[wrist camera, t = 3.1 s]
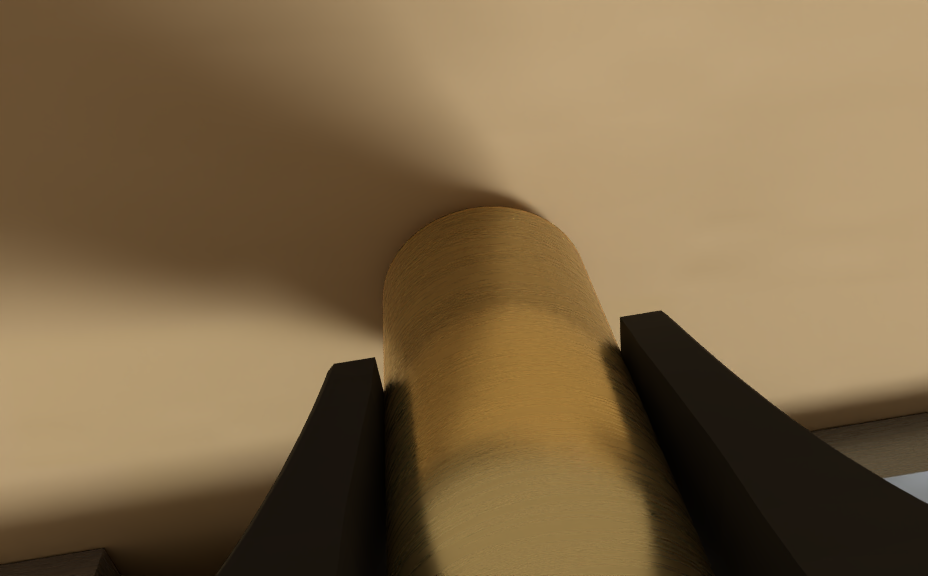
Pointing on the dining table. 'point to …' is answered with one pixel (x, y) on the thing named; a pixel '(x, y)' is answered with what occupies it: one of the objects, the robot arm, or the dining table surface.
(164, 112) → the dining table surface
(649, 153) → the dining table surface
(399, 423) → the pin
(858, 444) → the gray slotted block
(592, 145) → the dining table surface
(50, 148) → the dining table surface
